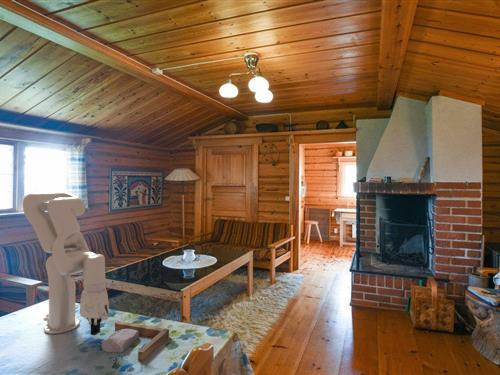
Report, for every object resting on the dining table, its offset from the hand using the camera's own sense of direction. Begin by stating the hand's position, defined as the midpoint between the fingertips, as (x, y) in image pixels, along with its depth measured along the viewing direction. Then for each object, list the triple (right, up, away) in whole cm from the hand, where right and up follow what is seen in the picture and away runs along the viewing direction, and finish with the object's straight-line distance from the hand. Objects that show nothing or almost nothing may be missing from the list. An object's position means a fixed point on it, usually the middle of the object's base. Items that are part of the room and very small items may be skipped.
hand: (95, 333), depth 118 cm
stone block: (+11, -3, -3) cm, 11 cm away
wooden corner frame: (+14, -3, -2) cm, 14 cm away
